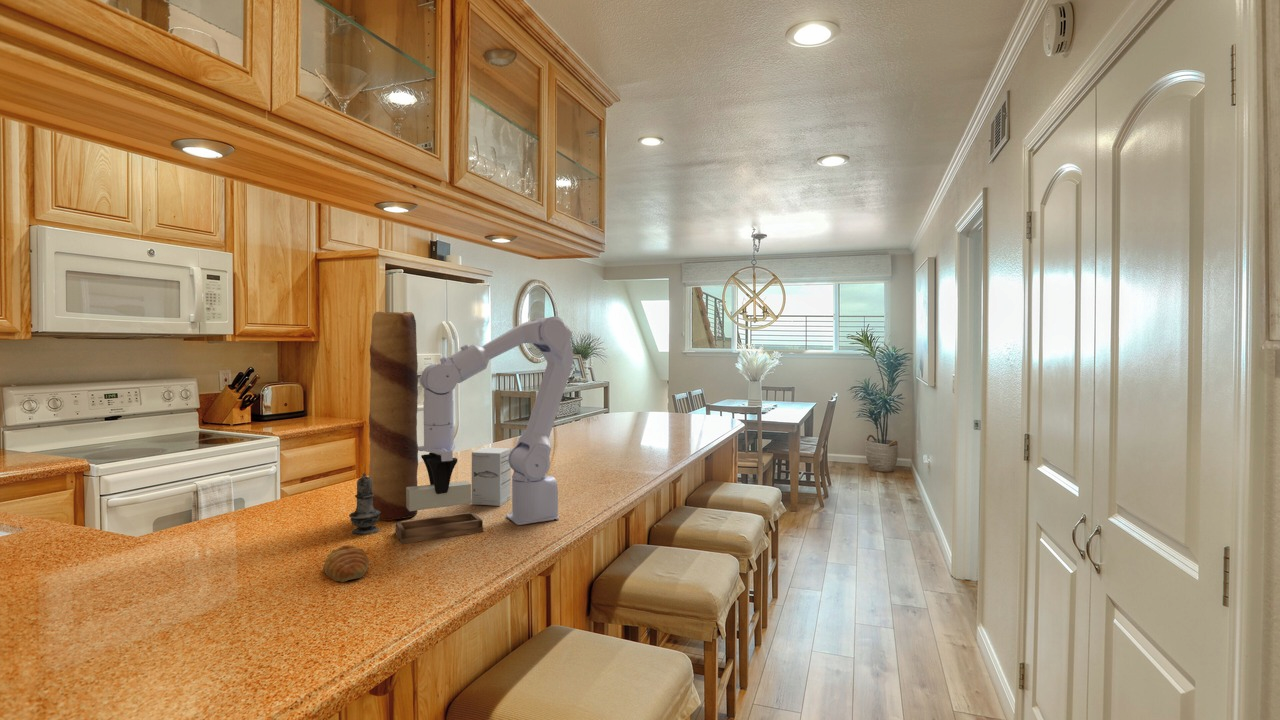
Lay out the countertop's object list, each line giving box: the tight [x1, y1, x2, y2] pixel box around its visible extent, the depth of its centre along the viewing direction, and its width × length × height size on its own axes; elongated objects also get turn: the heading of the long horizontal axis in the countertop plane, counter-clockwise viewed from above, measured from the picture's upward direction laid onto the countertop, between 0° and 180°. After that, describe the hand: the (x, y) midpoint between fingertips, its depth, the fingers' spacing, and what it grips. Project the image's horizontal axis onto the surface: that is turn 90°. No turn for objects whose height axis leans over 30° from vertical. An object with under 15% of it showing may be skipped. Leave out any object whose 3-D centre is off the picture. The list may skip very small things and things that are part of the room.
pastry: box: [322, 544, 370, 583], centre depth 105 cm, size 9×7×4 cm
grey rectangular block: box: [406, 480, 472, 511], centre depth 127 cm, size 12×4×4 cm, turn 120°
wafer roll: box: [368, 311, 419, 521], centre depth 138 cm, size 10×11×45 cm
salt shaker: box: [348, 472, 381, 536], centre depth 127 cm, size 6×6×12 cm
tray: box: [394, 511, 484, 545], centre depth 127 cm, size 16×8×2 cm, turn 120°
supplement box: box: [471, 447, 512, 507], centre depth 150 cm, size 7×7×13 cm
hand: (439, 491), depth 127 cm, fingers closed on grey rectangular block, 3 cm apart
